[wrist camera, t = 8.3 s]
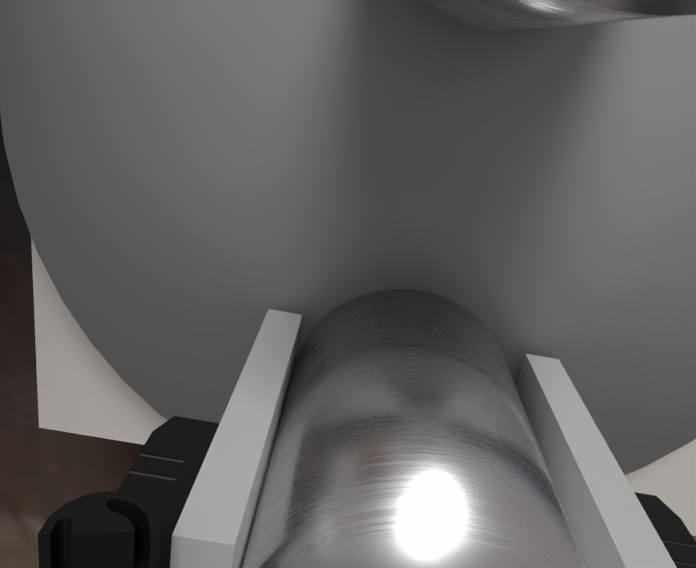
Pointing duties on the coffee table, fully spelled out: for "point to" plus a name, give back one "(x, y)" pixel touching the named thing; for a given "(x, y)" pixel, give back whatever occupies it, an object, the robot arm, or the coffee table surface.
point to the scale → (353, 199)
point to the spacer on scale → (553, 12)
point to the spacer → (406, 449)
